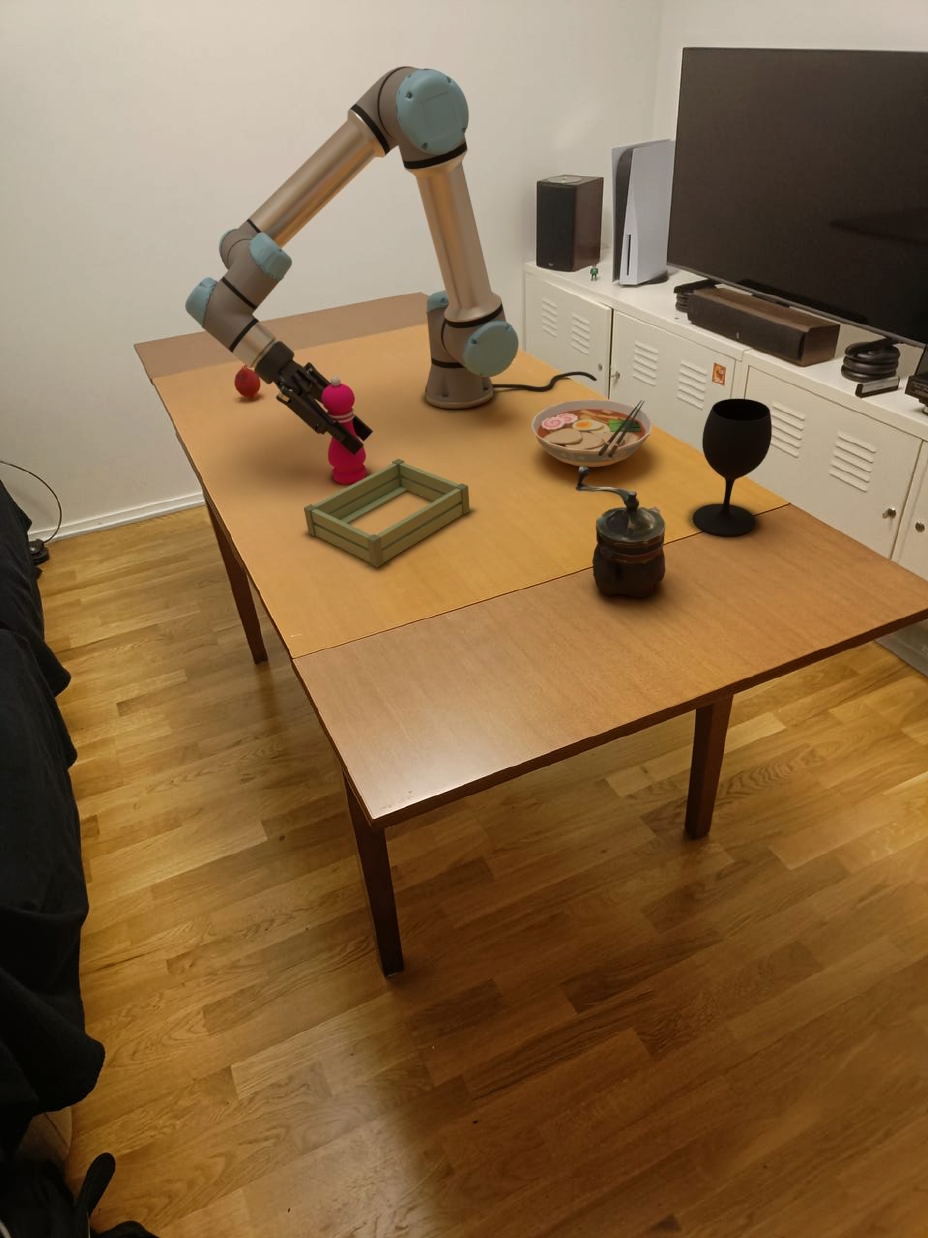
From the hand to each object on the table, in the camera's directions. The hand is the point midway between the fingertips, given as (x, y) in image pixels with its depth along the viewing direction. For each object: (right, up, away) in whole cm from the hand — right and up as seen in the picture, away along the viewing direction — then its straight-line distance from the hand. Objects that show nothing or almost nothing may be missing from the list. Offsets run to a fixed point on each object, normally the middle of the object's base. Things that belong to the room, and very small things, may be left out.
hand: (363, 442), depth 158 cm
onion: (-31, +18, +39) cm, 53 cm away
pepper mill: (-3, -6, +5) cm, 8 cm away
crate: (+6, -16, -10) cm, 20 cm away
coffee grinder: (+42, -28, -28) cm, 58 cm away
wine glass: (+63, -17, -15) cm, 67 cm away
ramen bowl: (+43, -2, +5) cm, 44 cm away
